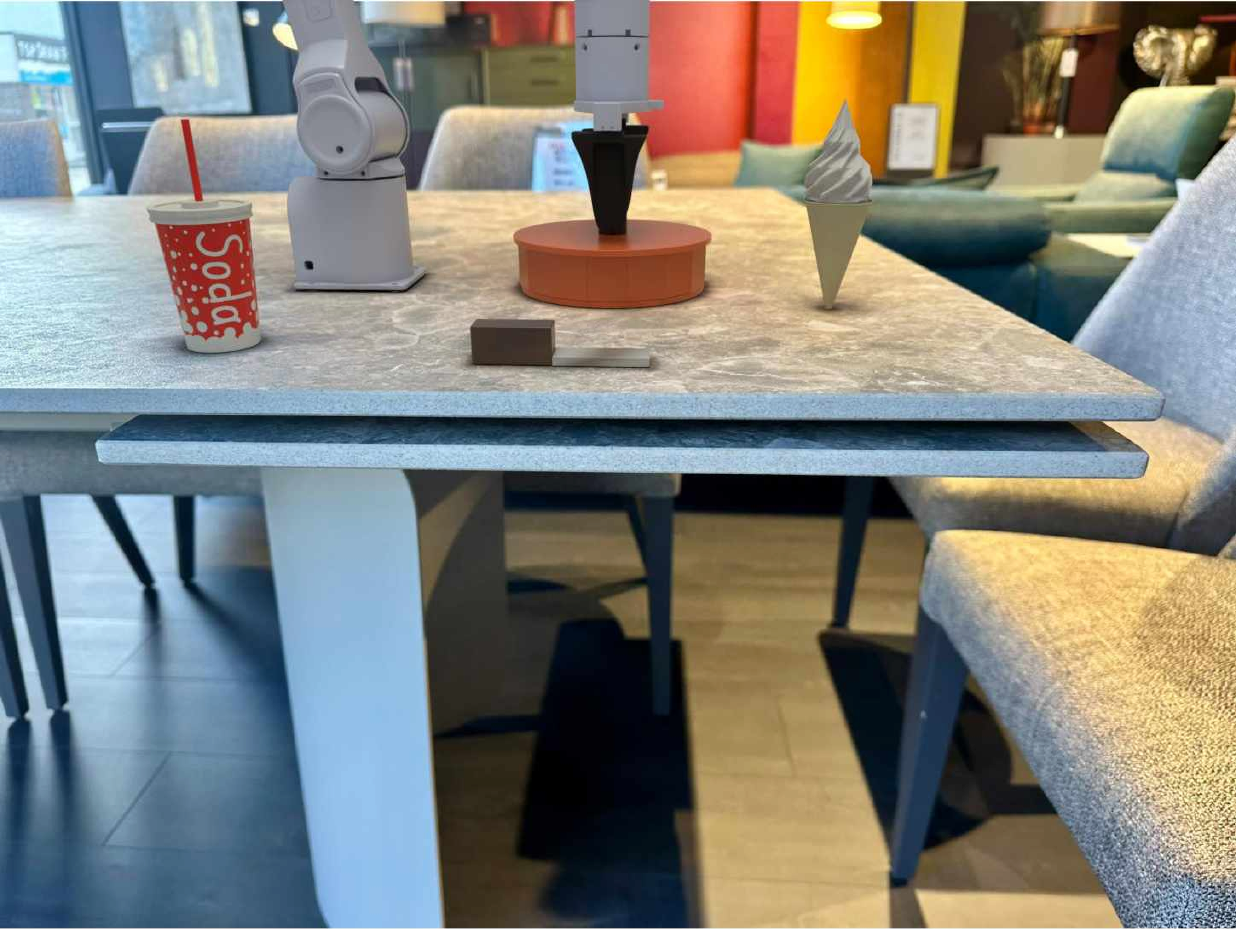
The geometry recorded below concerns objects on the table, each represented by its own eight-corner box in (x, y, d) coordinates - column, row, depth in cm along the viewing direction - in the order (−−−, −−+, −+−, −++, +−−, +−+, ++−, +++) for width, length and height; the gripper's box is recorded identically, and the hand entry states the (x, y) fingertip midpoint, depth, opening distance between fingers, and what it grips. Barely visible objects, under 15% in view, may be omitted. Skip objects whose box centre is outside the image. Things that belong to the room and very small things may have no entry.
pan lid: (498, 264, 68) (494, 194, 66) (528, 230, 83) (526, 172, 81) (716, 266, 68) (719, 195, 66) (706, 232, 83) (709, 173, 81)
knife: (471, 364, 56) (469, 326, 55) (478, 355, 58) (476, 318, 57) (649, 367, 55) (650, 329, 55) (650, 357, 58) (650, 320, 57)
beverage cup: (169, 359, 57) (121, 122, 51) (178, 336, 62) (135, 118, 57) (273, 350, 59) (237, 120, 53) (272, 328, 64) (240, 116, 59)
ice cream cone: (782, 304, 71) (797, 98, 65) (837, 299, 73) (856, 97, 67) (817, 318, 67) (836, 99, 61) (875, 313, 68) (899, 99, 62)
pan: (508, 307, 70) (505, 255, 69) (534, 268, 84) (533, 224, 83) (707, 309, 69) (709, 256, 68) (700, 270, 84) (701, 226, 82)
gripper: (664, 34, 63) (661, 234, 68) (664, 41, 76) (661, 208, 81) (562, 34, 63) (567, 233, 68) (580, 42, 76) (583, 208, 81)
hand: (613, 220), depth 75 cm, fingers open, 7 cm apart
